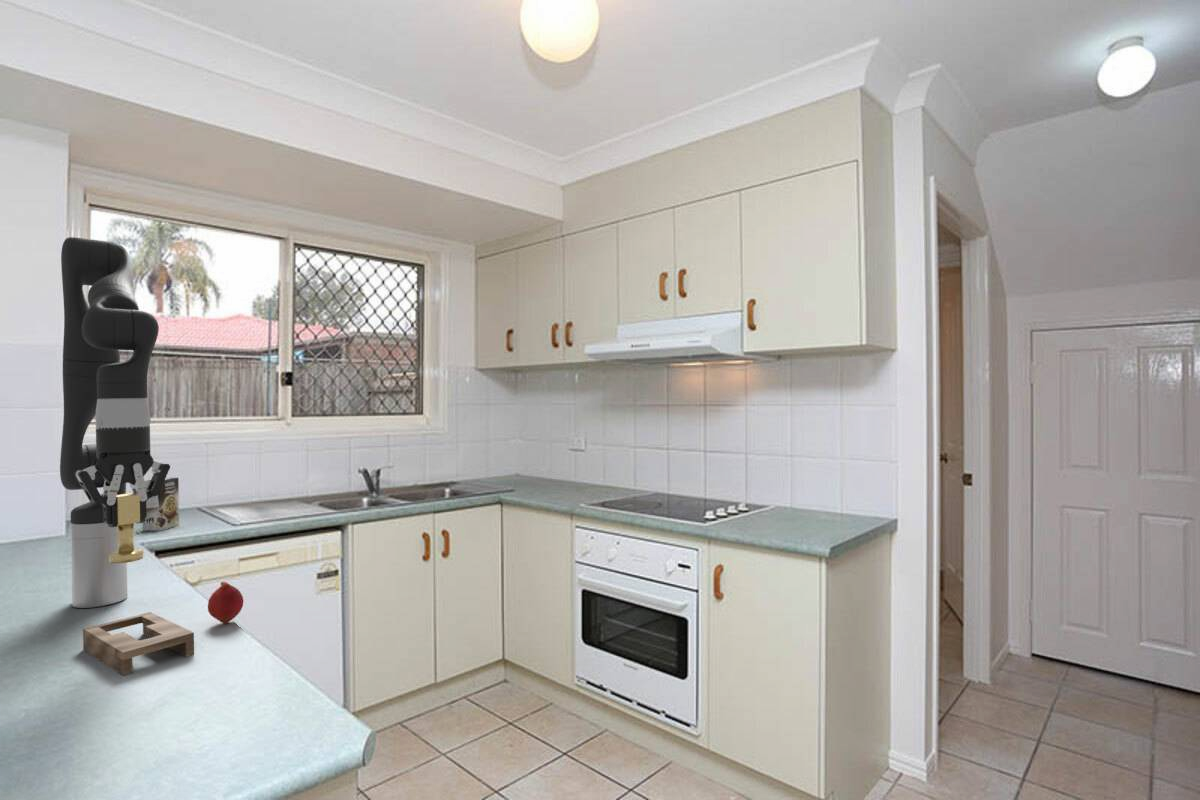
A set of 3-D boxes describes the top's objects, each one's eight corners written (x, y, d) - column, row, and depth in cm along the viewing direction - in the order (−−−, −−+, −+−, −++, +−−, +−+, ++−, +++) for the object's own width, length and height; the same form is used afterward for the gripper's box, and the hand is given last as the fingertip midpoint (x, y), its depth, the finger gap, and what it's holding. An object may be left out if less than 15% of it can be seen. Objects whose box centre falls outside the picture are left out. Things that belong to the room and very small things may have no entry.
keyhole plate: (83, 649, 110) (82, 628, 110) (150, 631, 118) (150, 612, 118) (123, 675, 99) (122, 652, 99) (194, 653, 108) (193, 632, 108)
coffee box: (161, 530, 207) (160, 480, 207) (141, 531, 207) (140, 481, 207) (180, 525, 216) (179, 477, 216) (161, 525, 216) (160, 477, 216)
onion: (236, 615, 126) (235, 575, 126) (248, 622, 123) (248, 580, 122) (203, 624, 122) (202, 582, 122) (215, 631, 118) (214, 587, 118)
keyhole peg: (104, 560, 111) (103, 495, 111) (137, 554, 115) (135, 492, 114) (114, 564, 108) (113, 498, 108) (148, 558, 112) (146, 494, 112)
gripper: (160, 422, 119) (162, 516, 119) (64, 426, 107) (67, 529, 108) (178, 423, 115) (180, 520, 115) (80, 427, 103) (82, 534, 103)
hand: (125, 524), depth 111 cm, fingers closed on keyhole peg, 3 cm apart
